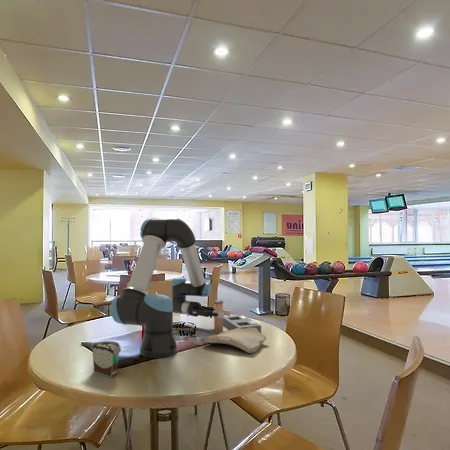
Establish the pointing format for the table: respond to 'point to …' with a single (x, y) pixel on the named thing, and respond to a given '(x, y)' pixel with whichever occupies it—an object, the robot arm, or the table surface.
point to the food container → (106, 357)
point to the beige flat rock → (239, 339)
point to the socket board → (240, 322)
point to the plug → (217, 321)
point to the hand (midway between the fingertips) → (226, 314)
